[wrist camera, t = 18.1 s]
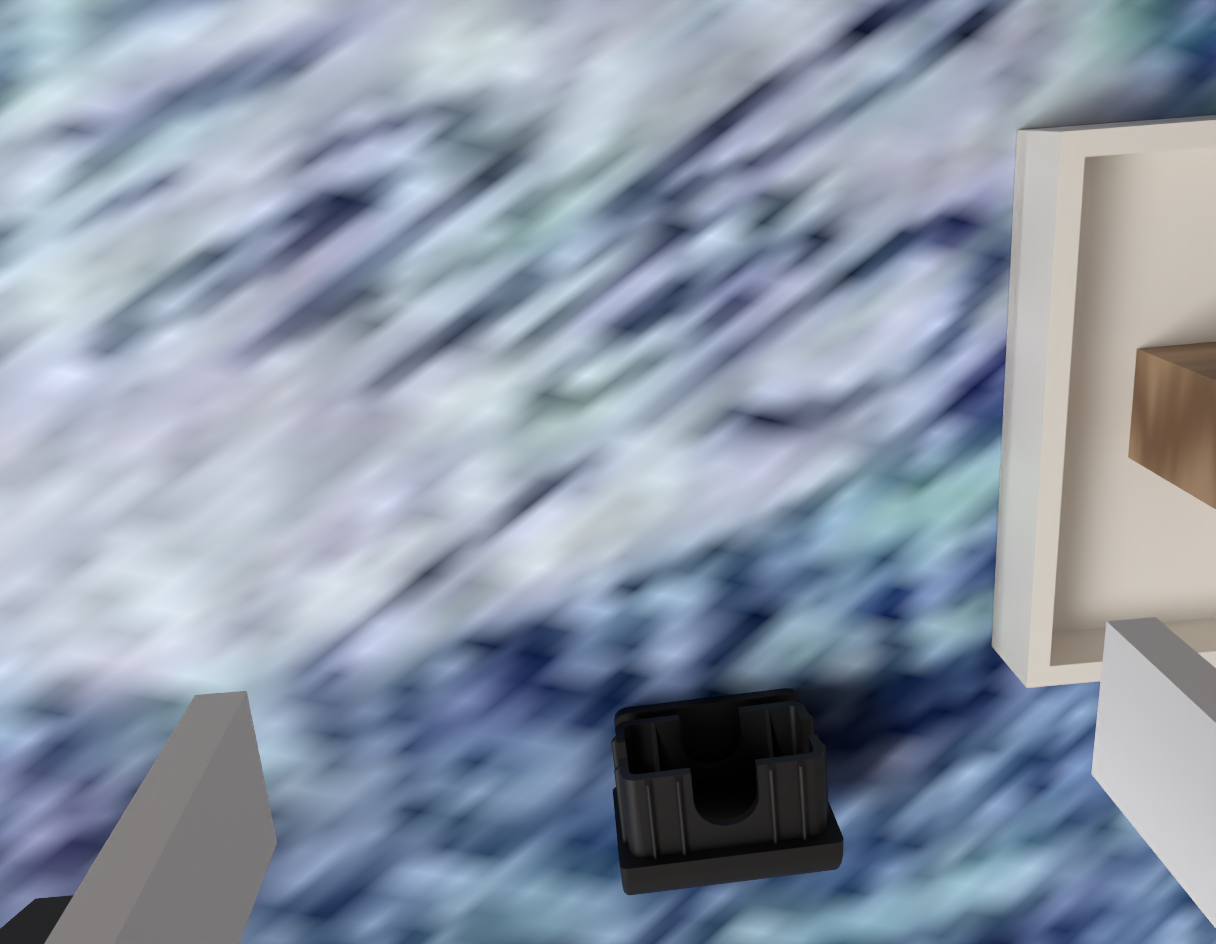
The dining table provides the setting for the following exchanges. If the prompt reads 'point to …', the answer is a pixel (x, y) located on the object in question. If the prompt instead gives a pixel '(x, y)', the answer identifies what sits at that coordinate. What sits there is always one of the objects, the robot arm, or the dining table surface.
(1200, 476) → the walnut block
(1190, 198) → the sorting tray
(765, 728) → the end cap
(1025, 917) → the dining table surface
